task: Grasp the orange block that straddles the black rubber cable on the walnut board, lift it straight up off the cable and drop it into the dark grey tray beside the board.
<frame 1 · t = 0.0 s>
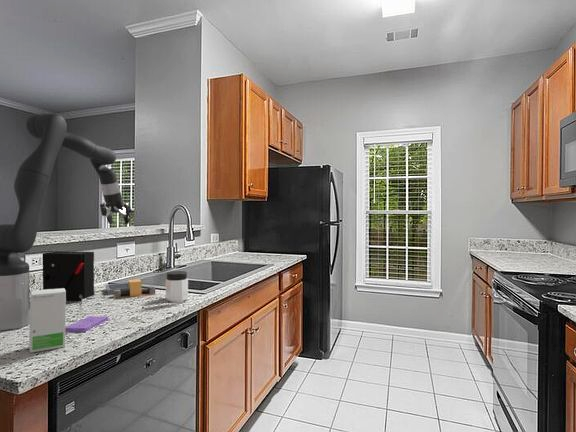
hand: (119, 223, 171), 31 cm above the counter, tool tilted 20°, fingers open, 8 cm apart
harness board: (134, 297, 153), on the counter
tray: (121, 293, 161), on the counter
electrical component: (70, 299, 150), on the counter
jar: (176, 301, 147), on the counter
sponges: (87, 327, 116), on the counter
orange block: (134, 294, 153), point 1 cm above the counter, touching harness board
skincare box: (48, 347, 98), on the counter
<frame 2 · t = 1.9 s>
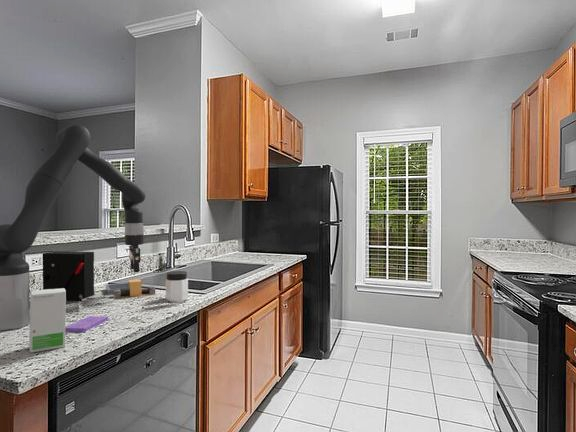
hand: (134, 270, 153), 12 cm above the counter, tool pointing down, fingers open, 8 cm apart
nothing on the counter moved.
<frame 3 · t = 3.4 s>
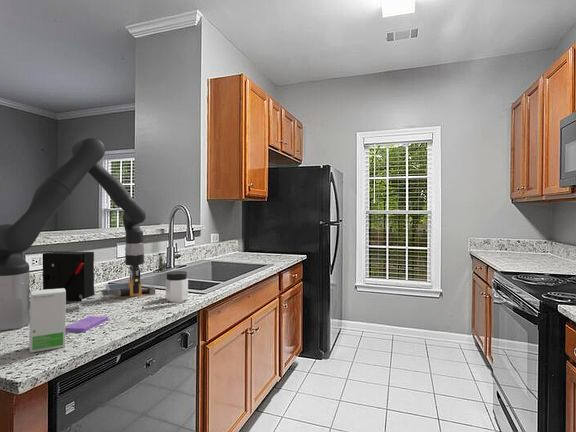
hand: (134, 291, 153), 2 cm above the counter, tool pointing down, fingers closed on orange block, 5 cm apart
orange block: (134, 294, 153), point 1 cm above the counter, touching gripper, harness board
everything else where it was.
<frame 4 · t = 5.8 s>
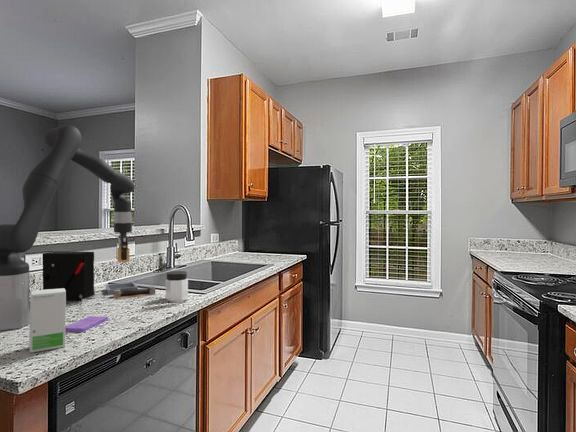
hand: (123, 258, 160), 16 cm above the counter, tool pointing down, fingers closed on orange block, 5 cm apart
orange block: (123, 261, 160), point 15 cm above the counter, touching gripper
everything else where it was.
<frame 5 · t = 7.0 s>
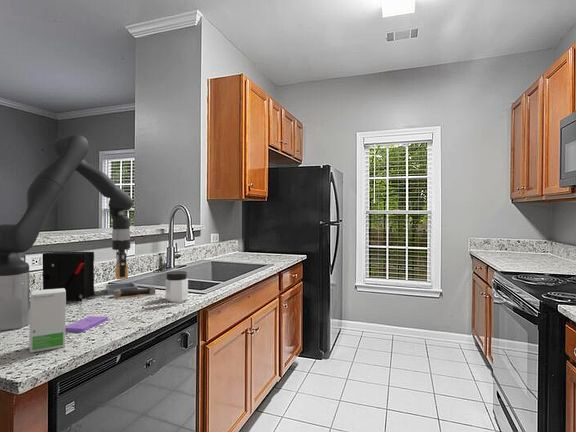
hand: (121, 275, 161), 8 cm above the counter, tool pointing down, fingers closed on orange block, 5 cm apart
orange block: (121, 277, 161), point 7 cm above the counter, touching gripper
everything else where it was.
when the fingers open (5 cm above the counter, at t = 8.0 s): orange block drops 3 cm, resting on tray.
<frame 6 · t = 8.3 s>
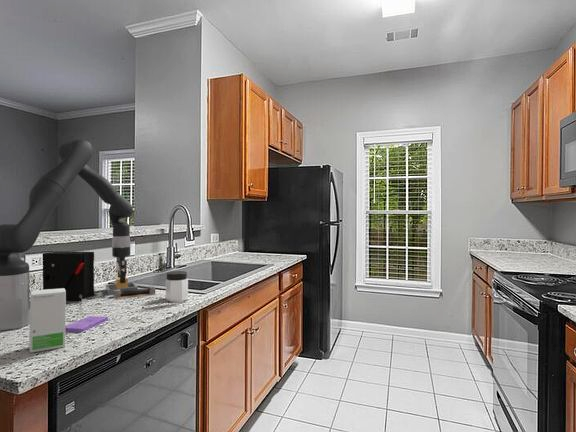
hand: (121, 281, 161), 5 cm above the counter, tool pointing down, fingers open, 8 cm apart
orange block: (121, 291, 161), point 1 cm above the counter, touching tray
everything else where it was.
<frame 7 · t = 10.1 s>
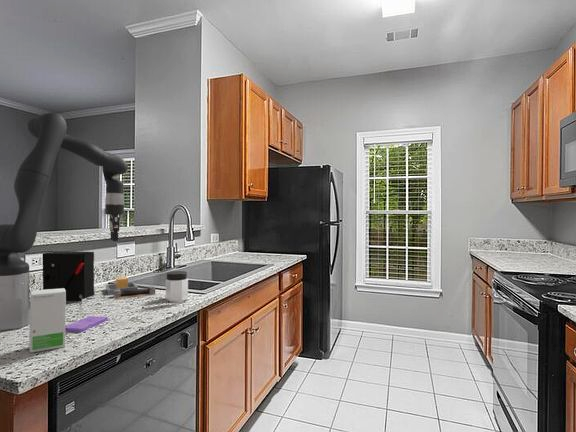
hand: (114, 240, 155), 25 cm above the counter, tool pointing down, fingers open, 8 cm apart
nothing on the counter moved.
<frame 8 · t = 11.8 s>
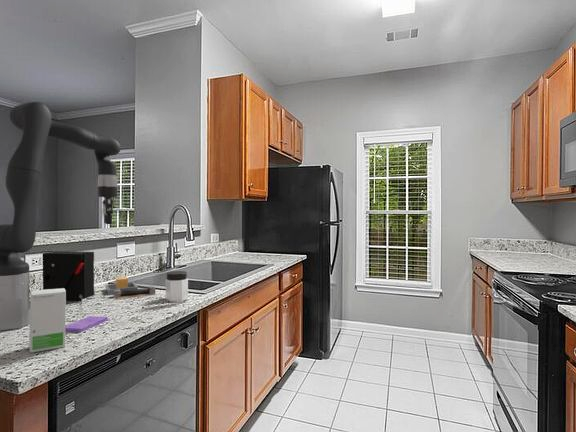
hand: (107, 223, 151), 32 cm above the counter, tool pointing down, fingers open, 8 cm apart
nothing on the counter moved.
at the end: orange block inside the target area on the tray (0.0 cm from its centre), point 0.8 cm above the tray's base; orange block touching tray; the gripper is holding nothing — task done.
